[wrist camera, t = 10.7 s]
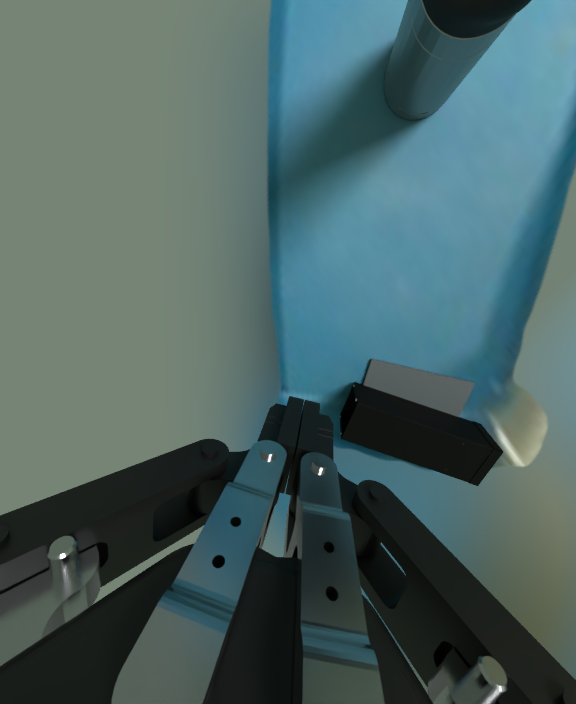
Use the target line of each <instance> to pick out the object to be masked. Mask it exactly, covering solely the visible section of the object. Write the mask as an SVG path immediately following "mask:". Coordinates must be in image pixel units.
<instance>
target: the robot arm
mask: <svg viewBox="0 0 576 704" xmlns="http://www.w3.org/2000/svg"><path fill="white" fill-rule="evenodd" d="M530 1H531V0H408V2H407V5H406V9H405V12H404V15H403V18H402V21H401V24H400V28H399V31H398V34H397V37H396V40H395V43H394V46H393V49H392V52H391V56H390V59H389V62H388V65H387V69H386V72H385V77H384V93H385V97H386V100H387V103H388V105H389V106H390V108H391V109H392V110H393V112H394V113H395V114H397V115H398V116H400V117H401V118H405V119H408V120H417V119H423V118H425V117H427V116H430V115H431V114H433V113H434V112H436V111H437V110H438V109H439V108H440V107H441V106H442V105H443V104H444V103H445V102H446V100H447V99H448V98H449V97H450V95H451V94H452V93H453V92H454V91H455V89H456V88H457V87H458V86H459V84H460V83H461V82H462V81H463V79H464V78H465V77H466V76H467V74H468V73H469V72H470V71H471V69H472V68H473V67H474V66H475V64H476V63H477V62H478V61H479V60H480V58H481V57H482V56H483V55H484V53H485V52H486V51H487V50H488V48H489V47H490V46H491V45H492V43H493V42H494V41H495V40H496V38H497V37H498V36H499V35H500V33H501V32H502V31H503V30H504V28H505V27H506V26H507V24H508V23H509V22H510V21H511V19H512V18H513V17H514V16H515V15H516V13H517V12H519V11H520V10H521V9H523V8H524V7H525V6H526V5H527V4H528V3H529V2H530ZM303 402H304V399H300V398H295V397H291V396H289V399H288V403H287V406H285V405H281V404H275V405H274V406H272V407H271V408H270V409H269V412H268V415H267V417H266V420H265V423H264V425H263V428H262V431H261V434H260V436H259V439H258V442H257V443H254V444H253V445H252V447H251V449H249V450H247V451H242V452H229V449H228V447H227V446H226V445H225V444H224V443H223V442H221V441H219V440H215V439H204V440H200V441H197V442H195V443H192V444H190V445H187V446H184V447H181V448H179V449H176V450H174V451H171V452H168V453H165V454H163V455H160V456H158V457H155V458H152V459H150V460H147V461H144V462H142V463H139V464H136V465H134V466H131V467H128V468H126V469H123V470H120V471H118V472H115V473H112V474H110V475H107V476H105V477H102V478H99V479H97V480H94V481H91V482H88V483H86V484H83V485H80V486H78V487H75V488H72V489H70V490H67V491H65V492H62V493H59V494H56V495H54V496H51V497H48V498H46V499H43V500H40V501H38V502H35V503H33V504H30V505H27V506H24V507H22V508H19V509H16V510H14V511H11V512H9V513H6V514H3V515H1V516H0V704H576V680H575V679H574V678H573V677H572V676H571V675H570V674H569V673H568V672H567V671H566V670H565V669H564V668H563V667H562V666H561V665H560V664H559V663H558V662H557V661H556V660H555V659H554V658H553V657H552V656H551V655H550V654H549V653H548V652H547V650H546V649H545V648H544V647H542V645H541V644H540V643H539V642H538V641H537V640H536V639H535V638H534V637H533V636H532V635H531V634H530V633H529V632H528V631H527V630H526V629H525V628H524V627H523V626H522V625H521V624H520V623H519V622H518V621H517V620H516V619H515V618H514V617H513V616H512V615H511V614H510V612H508V610H507V609H505V607H504V606H503V605H502V604H501V603H500V602H499V601H498V600H497V599H496V598H495V597H494V596H493V595H492V594H491V593H490V592H489V591H488V590H487V589H486V588H485V587H484V586H483V585H482V584H481V583H480V582H479V581H478V580H477V579H476V578H475V577H474V576H473V575H472V574H471V573H470V571H469V570H468V569H467V568H466V567H465V566H464V565H463V564H462V563H461V562H460V561H459V560H458V559H457V558H456V557H455V556H454V555H453V554H452V553H451V552H450V551H449V550H448V549H447V548H446V547H445V546H444V545H443V544H442V543H441V542H440V541H439V540H438V539H437V538H436V537H435V536H434V535H433V534H432V533H431V532H430V531H429V529H427V527H426V526H425V525H424V524H423V523H422V522H421V521H420V520H419V519H418V518H417V517H416V516H415V515H414V514H413V513H412V512H411V511H410V510H409V509H408V508H407V507H406V506H405V505H404V504H403V503H402V502H401V501H400V500H399V499H398V498H397V497H396V496H395V495H394V494H393V493H392V492H391V491H390V490H389V489H388V488H387V487H386V486H385V485H383V484H381V483H379V482H376V481H372V480H365V481H362V482H360V483H359V485H356V484H354V483H353V482H351V481H349V480H347V479H345V478H344V477H343V476H342V475H341V474H339V472H338V471H337V466H336V464H335V463H334V461H333V423H332V421H331V419H330V418H329V416H326V415H322V414H319V410H320V403H316V402H312V401H308V400H305V402H304V406H303ZM302 408H303V410H302ZM289 471H290V472H289ZM288 475H289V478H288ZM287 479H288V483H287ZM286 483H287V489H286V494H288V495H291V498H290V504H289V507H288V511H287V519H286V533H285V545H284V557H274V556H273V555H271V554H269V553H268V552H266V551H264V550H262V546H263V543H264V540H265V537H266V533H267V530H268V527H269V523H270V520H271V517H272V514H273V511H274V506H275V505H276V503H277V501H278V498H279V493H284V491H285V487H286ZM203 525H204V527H203V529H202V531H201V533H200V535H199V537H198V538H197V540H196V542H195V544H191V545H188V546H185V547H182V548H180V549H178V550H176V551H174V552H172V553H170V554H169V555H167V556H166V557H164V558H163V559H161V560H160V561H158V562H157V563H155V564H154V565H152V566H151V567H149V568H148V569H146V570H145V571H143V572H142V573H140V574H139V575H137V576H136V577H134V578H132V579H131V580H129V581H128V582H127V583H125V584H123V585H122V586H120V587H119V588H117V589H116V590H115V591H113V592H112V593H110V594H108V595H107V596H105V597H104V598H102V599H101V600H99V601H98V602H96V603H95V604H93V603H94V601H95V600H96V598H97V596H98V594H99V591H100V587H102V586H104V585H105V584H107V583H109V582H110V581H112V580H114V579H115V578H117V577H119V576H120V575H122V574H124V573H125V572H127V571H129V570H130V569H132V568H134V567H135V566H137V565H139V564H140V563H142V562H143V561H145V560H147V559H149V558H150V557H152V556H153V555H155V554H157V553H159V552H160V551H162V550H164V549H165V548H167V547H169V546H170V545H172V544H174V543H175V542H177V541H179V540H180V539H182V538H183V537H185V536H187V535H189V534H190V533H192V532H193V531H195V530H197V529H198V528H200V527H202V526H203ZM381 542H382V544H383V545H384V546H385V547H386V549H387V550H388V551H389V552H390V553H391V555H392V556H393V557H394V558H395V560H396V561H397V562H398V563H399V565H400V566H401V567H402V569H403V570H404V572H405V574H406V576H405V574H404V573H403V572H402V571H401V570H400V568H399V567H398V566H397V564H396V563H395V562H394V561H393V559H392V558H391V557H390V556H389V554H388V553H387V552H386V551H385V549H384V548H383V547H382V546H381V544H380V543H381ZM361 587H362V589H363V590H364V592H365V593H366V595H367V596H368V598H369V600H370V601H371V603H372V604H373V605H374V607H375V609H376V610H377V612H378V613H379V615H380V616H381V618H382V619H383V621H384V622H385V624H386V625H387V627H388V628H389V630H390V631H391V633H392V634H393V636H394V637H395V639H396V640H397V642H398V644H399V645H400V647H401V648H402V650H403V651H404V653H405V654H406V655H407V657H408V659H409V660H410V662H411V663H412V665H413V666H414V668H415V669H416V671H417V672H418V674H419V675H420V677H421V678H422V680H423V681H424V683H425V684H426V686H427V687H428V694H427V692H426V691H425V689H424V688H423V686H422V684H421V683H420V681H419V680H418V678H417V677H416V675H415V674H414V672H413V670H412V668H411V667H410V665H409V664H408V662H407V660H406V659H405V657H404V655H403V654H402V652H401V651H400V649H399V647H398V646H397V644H396V643H395V641H394V639H393V638H392V636H391V635H390V633H389V632H388V630H387V628H386V627H385V625H384V623H383V622H382V620H381V619H380V617H379V616H378V614H377V612H376V611H375V609H374V608H373V607H372V605H371V604H370V603H369V601H368V600H367V599H366V598H365V597H364V596H363V595H362V592H361ZM92 604H93V605H92Z"/></svg>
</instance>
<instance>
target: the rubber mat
mask: <svg viewBox="0 0 576 704" xmlns="http://www.w3.org/2000/svg"><path fill="white" fill-rule="evenodd" d="M363 385H365V386H368V387H371V388H374V389H377V390H380V391H383V392H386V393H389V394H392V395H395V396H397V397H400V398H403V399H406V400H409V401H412V402H415V403H418V404H421V405H424V406H427V407H430V408H433V409H436V410H439V411H442V412H445V413H448V414H451V415H454V416H457V417H459V416H460V414H461V411H462V409H463V407H464V405H465V403H466V401H467V399H468V397H469V395H470V393H471V391H472V389H473V387H474V385H475V383H474V382H470V381H466V380H462V379H457V378H453V377H449V376H445V375H440V374H436V373H432V372H427V371H423V370H419V369H414V368H410V367H406V366H401V365H397V364H393V363H388V362H384V361H380V360H375V359H371V361H370V365H369V368H368V371H367V374H366V377H365V380H364V383H363Z"/></svg>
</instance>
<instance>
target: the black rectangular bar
mask: <svg viewBox="0 0 576 704" xmlns="http://www.w3.org/2000/svg"><path fill="white" fill-rule="evenodd" d="M340 427H341V433H340V434H341V439H344V440H346V441H349V442H352V443H355V444H358V445H361V446H364V447H367V448H370V449H373V450H376V451H378V452H381V453H384V454H387V455H390V456H393V457H396V458H399V459H402V460H405V461H408V462H411V463H413V464H416V465H419V466H422V467H425V468H428V469H431V470H434V471H437V472H440V473H443V474H446V475H449V476H451V477H454V478H457V479H460V480H463V481H466V482H468V483H471V484H473V485H476V486H478V485H479V484H480V482H481V481H482V480H483V478H484V477H485V476H486V474H487V473H488V472H489V471H490V469H491V468H492V467H493V465H494V464H495V463H496V461H497V460H498V459H499V457H500V456H501V455H502V453H503V451H502V449H501V448H500V447H499V446H498V445H497V443H496V442H495V441H494V440H493V438H492V437H491V436H490V435H489V433H488V432H487V431H486V430H485V428H484V427H483V426H482V425H481V424H480V423H477V422H474V421H473V422H472V421H469V420H466V419H463V418H460V417H457V416H454V415H451V414H448V413H445V412H442V411H439V410H436V409H433V408H430V407H427V406H424V405H421V404H418V403H415V402H412V401H409V400H406V399H403V398H400V397H397V396H395V395H392V394H389V393H386V392H383V391H380V390H377V389H374V388H371V387H368V386H365V385H362V384H359V383H356V382H355V383H354V385H353V387H352V389H351V392H350V394H349V396H348V398H347V401H346V403H345V405H344V407H343V410H342V412H341V414H340Z"/></svg>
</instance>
